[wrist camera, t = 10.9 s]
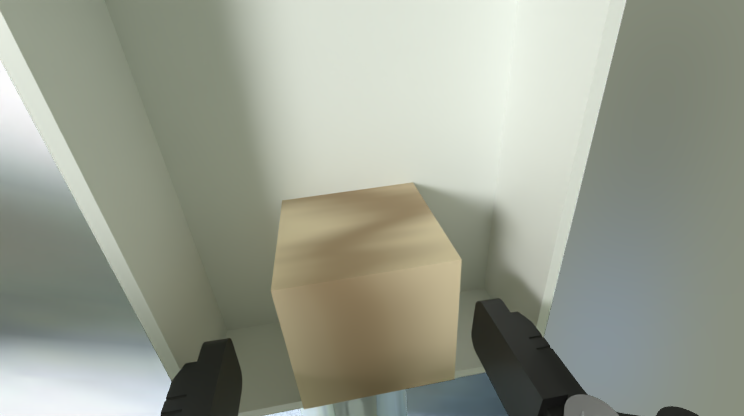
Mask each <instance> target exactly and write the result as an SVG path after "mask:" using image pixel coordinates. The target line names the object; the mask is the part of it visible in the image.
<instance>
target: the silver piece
mask: <svg viewBox="0 0 744 416" xmlns="http://www.w3.org/2000/svg"><path fill="white" fill-rule="evenodd" d="M300 411H301V416H408V413H407V399H406V389H404V390H399V391H394V392H389V393H384V394H379V395H374V396H369V397H364V398H359V399H354V400H349V401H344V402H339V403H334V404H329V405H324V406H319V407H314V408H309V409H304V408H300Z"/></svg>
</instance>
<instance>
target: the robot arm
mask: <svg viewBox="0 0 744 416" xmlns="http://www.w3.org/2000/svg"><path fill="white" fill-rule="evenodd" d="M471 338H472V343H473V347H474V350H475V352H476V354H477V356H478V358H479V360H480V362H481V363H482V365H483V367H484V369H485V371H486V373H487V375H488V377H489V379H490V381H491V383H492V385H493V387H494V389H495V390H496V392H497V394H498V396H499V398H500V400H501V402H502V404H503V406H504V408H505V410H506V412H507V414H508V416H637V415H630V414H623V413H618V412H615V410H613V409H612V408H611V407H610V406H609V405H608V404H606V403H605V402H603V401H602V400H600V399H598V398H595V397H593V396H590V395H588V394H586V392H585V391H584V390H583V389H582V387H581V386H580V385H579V384H578V382H577V381H576V380H575V378H574V377H573V376H572V374H571V373H570V372H569V370H568V369H567V368H566V367H565V365H564V364H563V362H562V361H561V360H560V358H559V357H558V356H557V354H556V353H555V352H554V350H553V349H551V348H550V345H549V344H548V342H547V341H546V340H545V338H543V337H542V334H541V333H540V332H539V330H538V329H537V328H536V326H535V325H534V324H533V322H532V321H530V320H529V319H527V318H526V317H525V316H523V315H522V314H521V313H519V312H518V311H517V312H510V311H509V309H508V308H507V306H506V305H505V304H504V302H503V301H502V300H501V299H500V298H495V299H488V300H482V301H477V302H476V304H475V310H474V317H473V324H472V331H471ZM241 393H242V372H241V368H240V365H239V361H238V358H237V355H236V352H235V348H234V345H233V342H232V340H231V338H226V339H220V340H213V341H207V342H204V343H203V344H202V347H201V350H200V353H199V356H198V360H197V361H196V362H190V363H185V364H184V366H183V367H182V368H181V370H180V371H179V372H178V374H177V375H176V376H175V377H174V379H173V380H172V383H171V386H170V389H169V391H168V394H167V397H166V401H165V403H164V405H163V408H162V411H161V416H238V412H239V406H240V399H241ZM656 416H698V415H697V414H695V413H693V412H691V411H689V410H686V409H683V408H679V407H673V406H671V407H664V408H662V409H660V411H658V413H657V415H656Z"/></svg>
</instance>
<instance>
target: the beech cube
mask: <svg viewBox="0 0 744 416" xmlns="http://www.w3.org/2000/svg"><path fill="white" fill-rule="evenodd" d="M461 264H462V259H461V258H460V256H459V254H458V253H457V251H456V250H455V248H454V247H453V245H452V243H451V242H450V240H449V239H448V237H447V236H446V234H445V232H444V231H443V229H442V228H441V226H440V224H439V223H438V221H437V220H436V218H435V217H434V215H433V213H432V212H431V210H430V209H429V207H428V206H427V204H426V202H425V201H424V199H423V198H422V196H421V194H420V193H419V191H418V190H417V188H416V187H415V185H414V183H413V182H412V183H405V184H397V185H390V186H383V187H376V188H368V189H361V190H354V191H347V192H339V193H332V194H325V195H318V196H310V197H303V198H296V199H289V200H282V206H281V214H280V222H279V229H278V237H277V245H276V253H275V261H274V269H273V277H272V284H271V294H272V297H273V301H274V305H275V308H276V312H277V315H278V319H279V322H280V326H281V330H282V333H283V337H284V340H285V344H286V347H287V351H288V355H289V358H290V362H291V365H292V369H293V372H294V376H295V380H296V383H297V387H298V390H299V394H300V397H301V401H302V404H303V408H304V409H309V408H314V407H319V406H324V405H329V404H334V403H339V402H344V401H349V400H354V399H359V398H364V397H369V396H374V395H379V394H384V393H389V392H394V391H399V390H404V389H409V388H414V387H419V386H424V385H429V384H434V383H439V382H444V381H449V380H454V377H455V361H456V345H457V328H458V312H459V296H460V280H461Z"/></svg>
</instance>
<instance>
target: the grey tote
mask: <svg viewBox="0 0 744 416" xmlns="http://www.w3.org/2000/svg"><path fill="white" fill-rule="evenodd" d="M625 4H626V0H0V60H1V62H2V64H3V66H4V68H5V69H6V71H7V73H8V75H9V77H10V79H11V81H12V83H13V84H14V86H15V88H16V90H17V92H18V94H19V96H20V98H21V100H22V101H23V103H24V105H25V107H26V109H27V111H28V113H29V115H30V116H31V118H32V120H33V122H34V124H35V126H36V128H37V130H38V131H39V133H40V135H41V137H42V139H43V141H44V143H45V145H46V146H47V148H48V150H49V152H50V154H51V156H52V158H53V160H54V161H55V163H56V165H57V167H58V169H59V171H60V173H61V175H62V177H63V178H64V180H65V182H66V184H67V186H68V188H69V190H70V192H71V193H72V195H73V197H74V199H75V201H76V203H77V205H78V207H79V208H80V210H81V212H82V214H83V216H84V218H85V220H86V222H87V223H88V225H89V227H90V229H91V231H92V233H93V235H94V237H95V238H96V240H97V242H98V244H99V246H100V248H101V250H102V252H103V253H104V255H105V257H106V259H107V261H108V263H109V265H110V267H111V269H112V270H113V272H114V274H115V276H116V278H117V280H118V282H119V284H120V285H121V287H122V289H123V291H124V293H125V295H126V297H127V299H128V300H129V302H130V304H131V306H132V308H133V310H134V312H135V314H136V315H137V317H138V319H139V321H140V323H141V325H142V327H143V329H144V330H145V332H146V334H147V336H148V338H149V340H150V342H151V344H152V346H153V347H154V349H155V351H156V353H157V355H158V357H159V359H160V361H161V362H162V364H163V366H164V368H165V370H166V372H167V374H168V376H169V377H170V379H171V381H172V380H173V379H174V377H175V376H176V375H177V374H178V372H179V371H180V370H181V368H182V367H183V366H184V364H185V363H190V362H196V361H197V360H198V356H199V353H200V350H201V347H202V344H203V343H204V342H207V341H213V340H220V339H226V338H231V340H232V342H233V345H234V348H235V352H236V355H237V358H238V361H239V365H240V368H241V372H242V393H241V399H240V406H239V412H238V416H264V415H269V414H274V413H279V412H284V411H289V410H294V409H300V408H303V404H302V401H301V397H300V394H299V390H298V387H297V383H296V380H295V376H294V372H293V369H292V365H291V362H290V358H289V355H288V351H287V347H286V344H285V340H284V337H283V333H282V330H281V326H280V322H279V319H278V315H277V312H276V308H275V305H274V301H273V297H272V294H271V284H272V277H273V269H274V261H275V253H276V245H277V237H278V229H279V222H280V214H281V206H282V200H289V199H296V198H303V197H310V196H318V195H325V194H332V193H339V192H347V191H354V190H361V189H368V188H376V187H383V186H390V185H397V184H405V183H412V182H413V183H414V185H415V187H416V188H417V190H418V191H419V193H420V194H421V196H422V198H423V199H424V201H425V202H426V204H427V206H428V207H429V209H430V210H431V212H432V213H433V215H434V217H435V218H436V220H437V221H438V223H439V224H440V226H441V228H442V229H443V231H444V232H445V234H446V236H447V237H448V239H449V240H450V242H451V243H452V245H453V247H454V248H455V250H456V251H457V253H458V254H459V256H460V258H461V259H462V264H461V280H460V296H459V312H458V328H457V345H456V361H455V377H454V378H459V377H465V376H470V375H475V374H480V373H485V372H486V371H485V369H484V367H483V365H482V363H481V362H480V360H479V358H478V356H477V354H476V352H475V350H474V347H473V343H472V338H471V331H472V324H473V317H474V310H475V304H476V302H477V301H482V300H488V299H495V298H500V299H501V300H502V301H503V302H504V304H505V305H506V306H507V308H508V309H509V311H510V312H517V311H518V312H519V313H521V314H522V315H523V316H525V317H526V318H527V319H529V320H530V321H532V322H533V324H534V325H535V326H536V328H537V329H538V330H539V332H540V333H541V334H542V337H543V338H544V334H545V330H546V326H547V322H548V318H549V314H550V310H551V305H552V301H553V297H554V293H555V289H556V285H557V281H558V277H559V273H560V269H561V265H562V260H563V257H564V252H565V248H566V244H567V240H568V236H569V232H570V228H571V224H572V220H573V216H574V212H575V207H576V204H577V199H578V195H579V192H580V187H581V183H582V179H583V175H584V171H585V167H586V163H587V159H588V155H589V151H590V147H591V142H592V138H593V134H594V130H595V126H596V122H597V118H598V114H599V110H600V106H601V102H602V98H603V94H604V90H605V86H606V82H607V77H608V73H609V69H610V65H611V61H612V57H613V53H614V49H615V44H616V41H617V37H618V32H619V29H620V24H621V20H622V16H623V12H624V8H625Z"/></svg>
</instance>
